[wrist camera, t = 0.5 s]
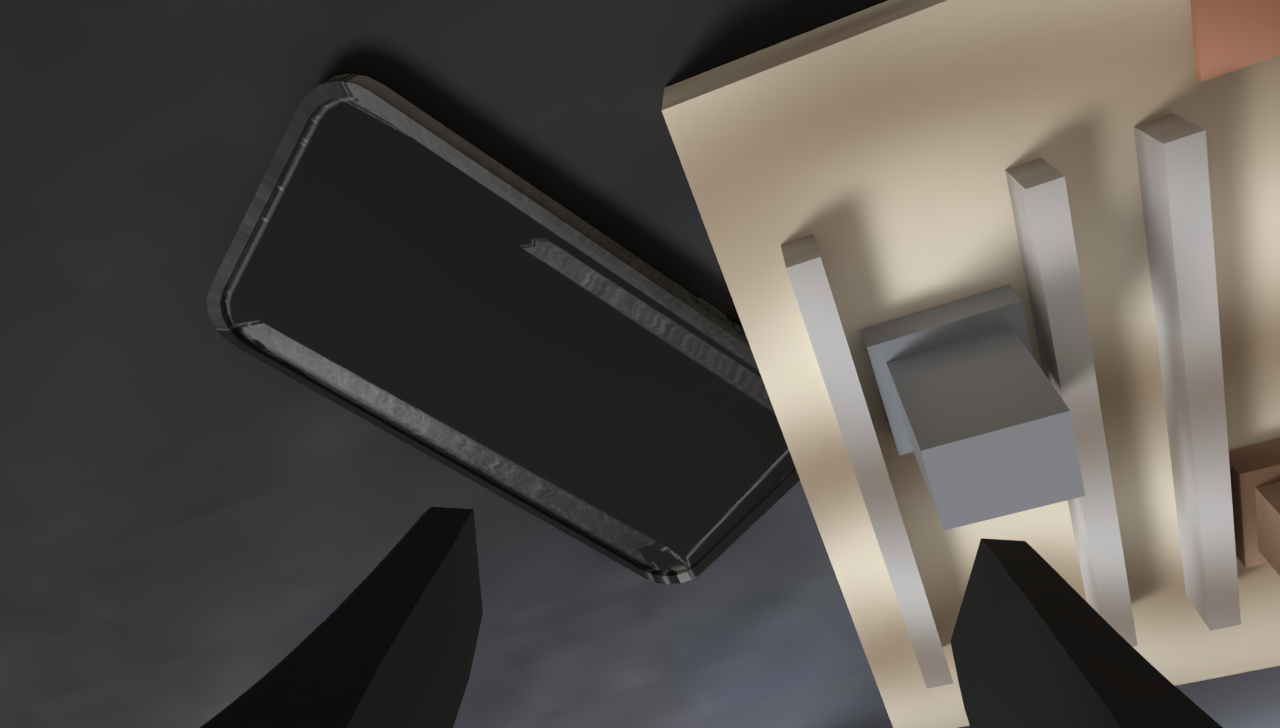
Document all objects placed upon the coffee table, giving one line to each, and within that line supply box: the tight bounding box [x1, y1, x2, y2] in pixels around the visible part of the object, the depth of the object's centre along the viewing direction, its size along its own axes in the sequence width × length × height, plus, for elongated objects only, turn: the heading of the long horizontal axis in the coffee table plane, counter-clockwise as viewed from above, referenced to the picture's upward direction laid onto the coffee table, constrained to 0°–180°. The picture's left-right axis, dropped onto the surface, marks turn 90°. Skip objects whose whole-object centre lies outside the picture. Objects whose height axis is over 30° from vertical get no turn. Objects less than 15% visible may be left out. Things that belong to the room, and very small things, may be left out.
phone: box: [206, 74, 800, 584], centre depth 22 cm, size 8×1×15 cm
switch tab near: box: [860, 285, 1085, 531], centre depth 17 cm, size 3×3×4 cm
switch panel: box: [662, 0, 1280, 728], centre depth 20 cm, size 20×15×3 cm
